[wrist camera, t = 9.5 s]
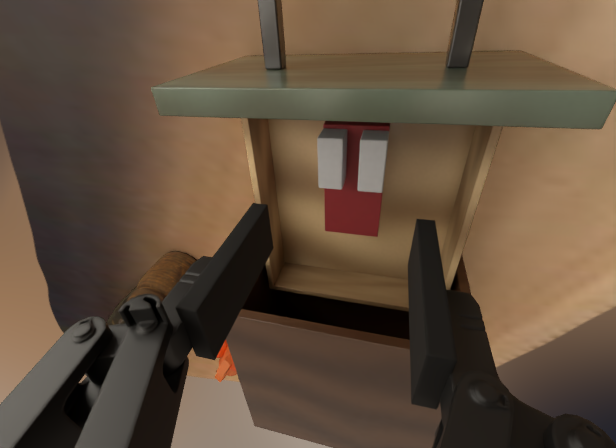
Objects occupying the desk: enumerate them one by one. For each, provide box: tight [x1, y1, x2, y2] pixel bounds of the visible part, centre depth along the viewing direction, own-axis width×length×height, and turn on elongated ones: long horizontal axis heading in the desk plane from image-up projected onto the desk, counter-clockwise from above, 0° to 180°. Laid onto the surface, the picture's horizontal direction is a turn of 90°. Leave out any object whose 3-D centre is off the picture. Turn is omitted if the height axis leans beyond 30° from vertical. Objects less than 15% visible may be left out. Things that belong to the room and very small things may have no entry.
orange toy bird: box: [215, 340, 237, 382], centre depth 42 cm, size 5×8×12 cm
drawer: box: [151, 0, 616, 312], centre depth 19 cm, size 24×17×10 cm
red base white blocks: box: [317, 121, 390, 237], centre depth 19 cm, size 7×3×6 cm, turn 3°
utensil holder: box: [121, 252, 196, 324], centre depth 32 cm, size 6×6×12 cm
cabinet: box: [226, 254, 471, 448], centre depth 29 cm, size 18×17×11 cm
